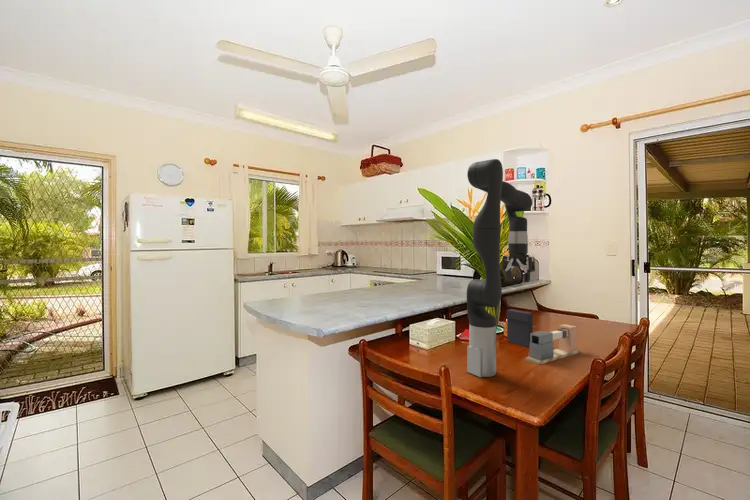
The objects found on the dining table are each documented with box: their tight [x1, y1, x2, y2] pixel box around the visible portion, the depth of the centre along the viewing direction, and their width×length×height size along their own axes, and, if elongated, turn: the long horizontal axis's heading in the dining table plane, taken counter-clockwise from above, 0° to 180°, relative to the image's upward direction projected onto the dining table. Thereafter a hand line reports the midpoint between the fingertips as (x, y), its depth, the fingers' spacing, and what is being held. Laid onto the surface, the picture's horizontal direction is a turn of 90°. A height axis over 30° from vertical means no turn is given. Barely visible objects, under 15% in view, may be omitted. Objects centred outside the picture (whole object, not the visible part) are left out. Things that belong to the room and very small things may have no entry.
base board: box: [524, 347, 581, 366], centre depth 143 cm, size 28×6×1 cm, turn 121°
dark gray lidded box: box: [506, 308, 534, 348], centre depth 160 cm, size 11×4×15 cm, turn 34°
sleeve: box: [528, 330, 555, 361], centre depth 139 cm, size 8×5×10 cm, turn 121°
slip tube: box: [550, 328, 569, 341], centre depth 144 cm, size 17×3×3 cm, turn 121°
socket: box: [558, 323, 577, 352], centre depth 148 cm, size 4×5×10 cm
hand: (517, 281), depth 147 cm, fingers open, 8 cm apart
